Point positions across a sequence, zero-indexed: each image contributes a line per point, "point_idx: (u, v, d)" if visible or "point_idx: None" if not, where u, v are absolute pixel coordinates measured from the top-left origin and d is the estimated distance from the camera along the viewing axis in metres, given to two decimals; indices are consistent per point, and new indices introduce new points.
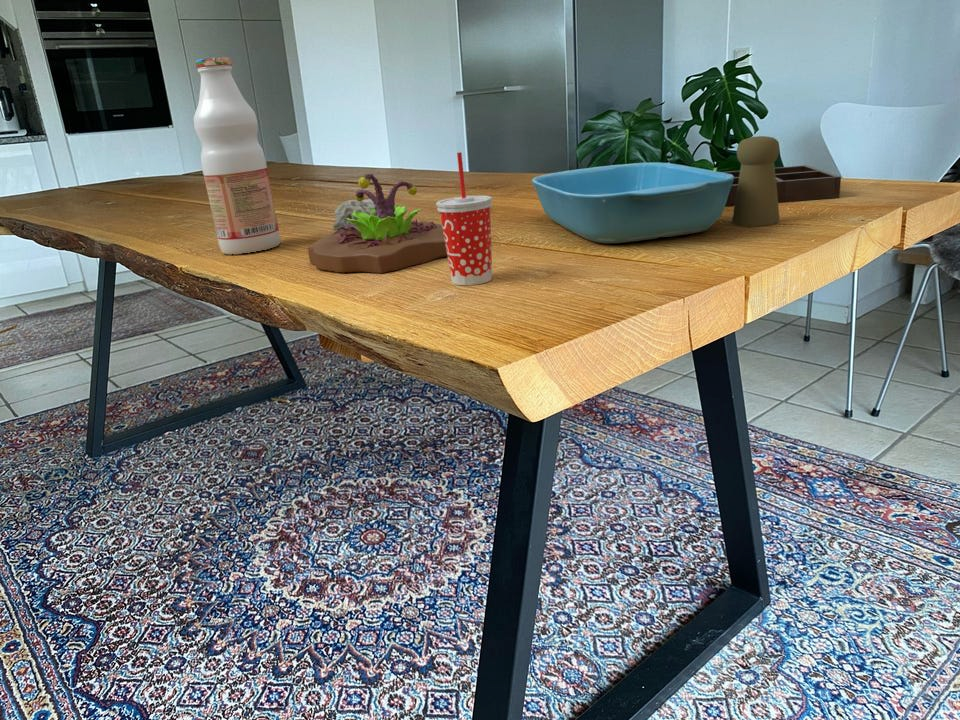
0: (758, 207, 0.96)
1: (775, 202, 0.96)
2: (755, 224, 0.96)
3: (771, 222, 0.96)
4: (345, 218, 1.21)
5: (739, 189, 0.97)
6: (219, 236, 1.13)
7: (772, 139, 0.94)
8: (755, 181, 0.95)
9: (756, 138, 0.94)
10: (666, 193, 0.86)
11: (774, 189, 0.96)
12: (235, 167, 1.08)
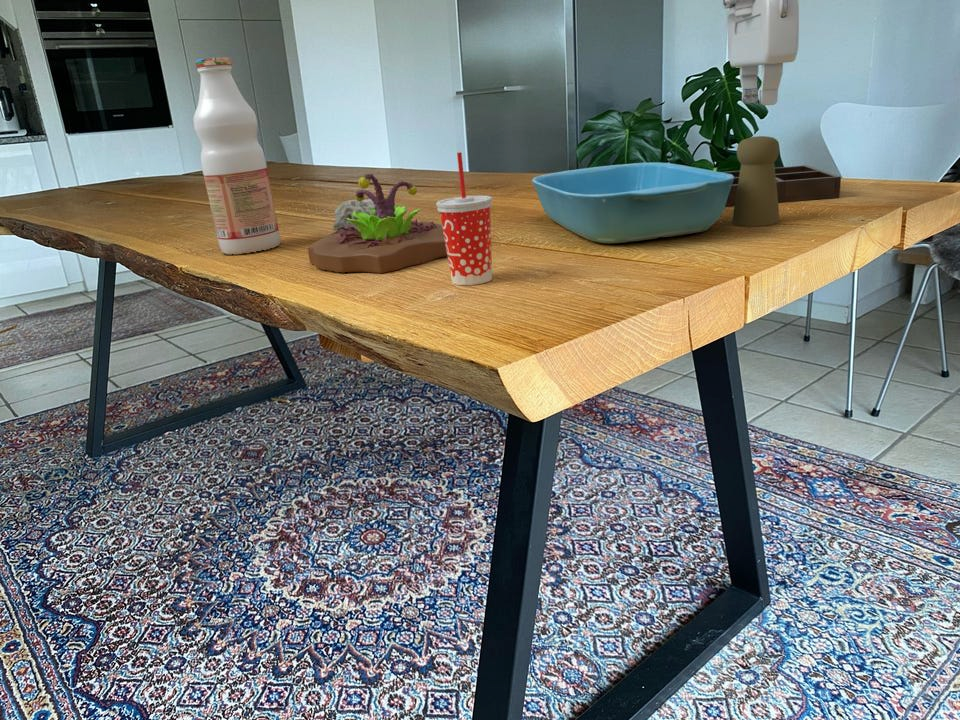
0: (758, 207, 0.96)
1: (775, 202, 0.96)
2: (755, 224, 0.96)
3: (771, 222, 0.96)
4: (345, 218, 1.21)
5: (739, 189, 0.97)
6: (219, 236, 1.13)
7: (772, 139, 0.94)
8: (755, 181, 0.95)
9: (756, 138, 0.94)
10: (666, 193, 0.86)
11: (774, 189, 0.96)
12: (235, 167, 1.08)
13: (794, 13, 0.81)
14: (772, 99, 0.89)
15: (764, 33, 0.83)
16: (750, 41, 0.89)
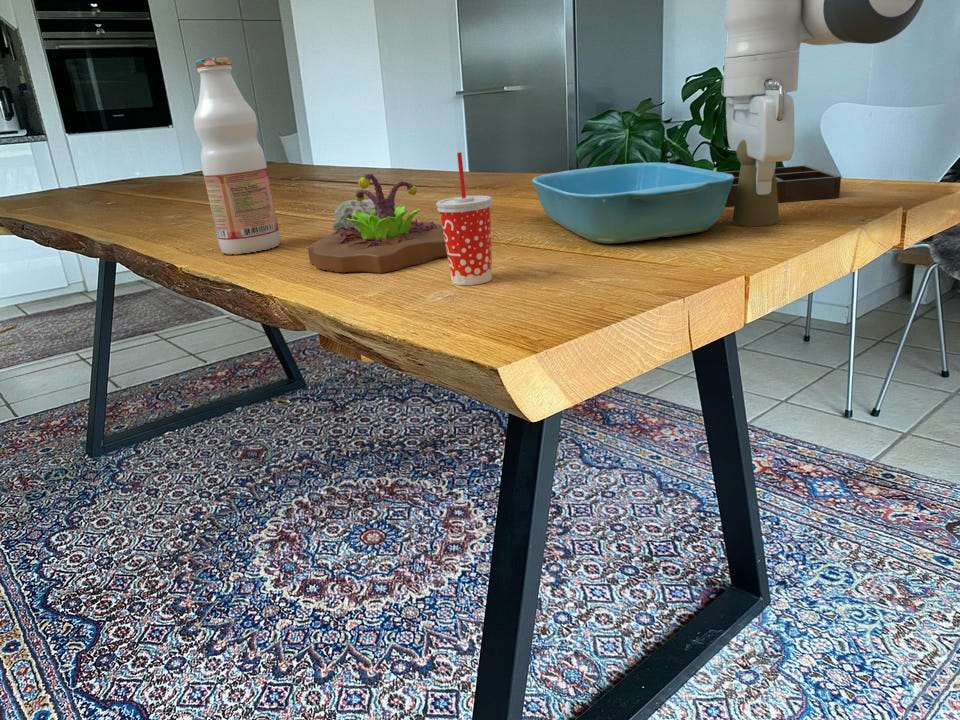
0: (758, 207, 0.96)
1: (775, 202, 0.96)
2: (755, 224, 0.96)
3: (771, 222, 0.96)
4: (345, 218, 1.21)
5: (739, 189, 0.97)
6: (219, 236, 1.13)
7: None
8: None
9: None
10: (666, 193, 0.86)
11: (774, 189, 0.96)
12: (235, 167, 1.08)
13: (790, 116, 0.85)
14: (766, 189, 0.94)
15: (761, 134, 0.87)
16: (748, 134, 0.93)
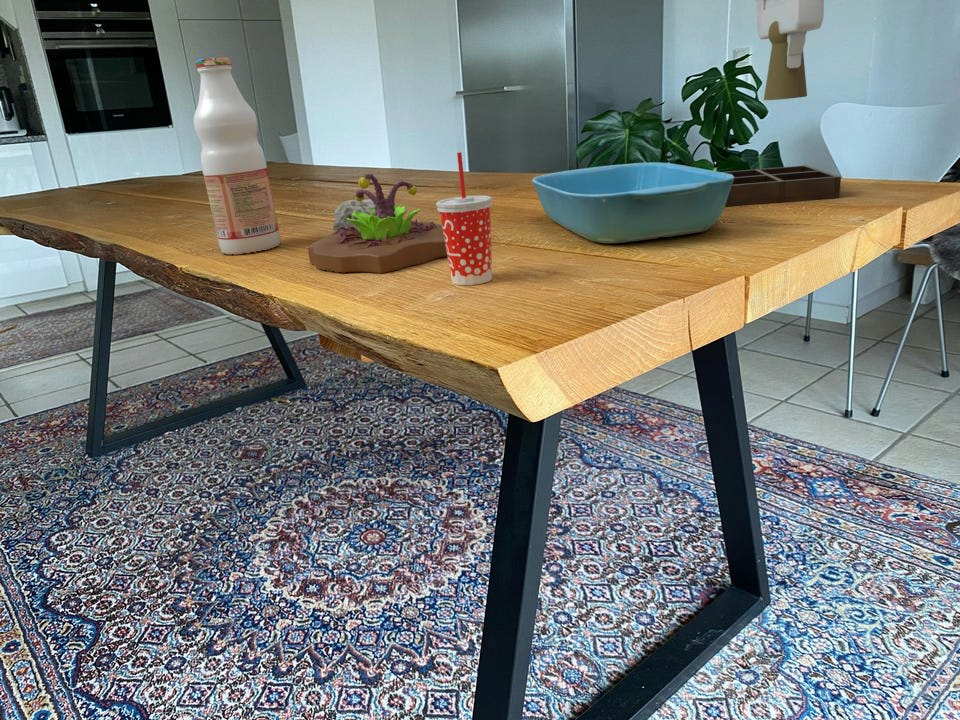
0: (789, 81, 1.07)
1: (803, 77, 1.08)
2: (786, 97, 1.08)
3: (800, 95, 1.08)
4: (345, 218, 1.21)
5: (771, 67, 1.08)
6: (219, 236, 1.13)
7: None
8: None
9: None
10: (666, 193, 0.86)
11: (802, 65, 1.07)
12: (235, 167, 1.08)
13: None
14: (796, 63, 1.05)
15: (794, 5, 0.98)
16: (780, 13, 1.05)
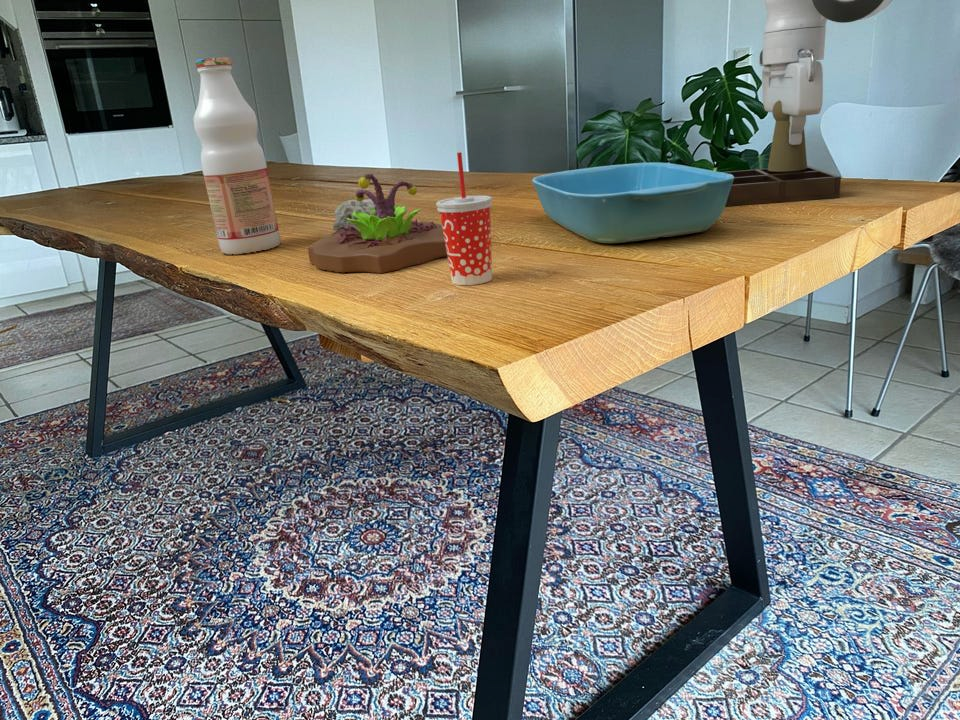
0: (790, 156, 1.17)
1: (804, 152, 1.18)
2: (787, 170, 1.18)
3: (800, 168, 1.18)
4: (345, 218, 1.21)
5: (774, 141, 1.19)
6: (219, 236, 1.13)
7: None
8: (787, 134, 1.17)
9: None
10: (666, 193, 0.86)
11: (803, 141, 1.17)
12: (235, 167, 1.08)
13: (819, 78, 1.07)
14: (798, 140, 1.15)
15: (796, 92, 1.08)
16: (783, 95, 1.15)
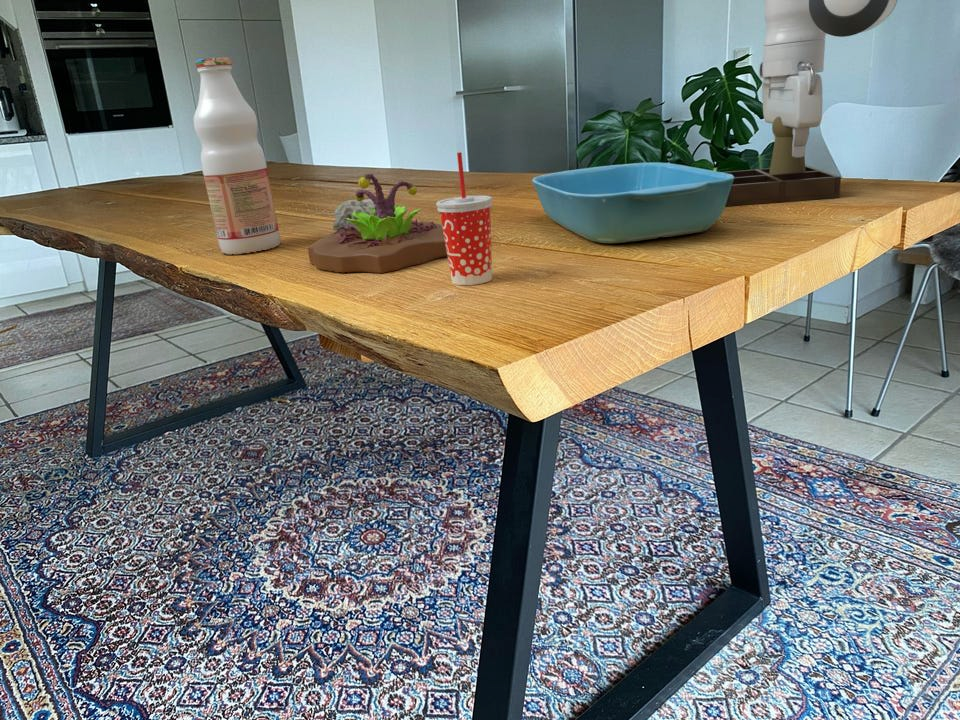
0: (790, 172, 1.18)
1: (803, 167, 1.19)
2: None
3: None
4: (345, 218, 1.21)
5: (774, 157, 1.19)
6: (219, 236, 1.13)
7: None
8: (787, 150, 1.17)
9: None
10: (666, 193, 0.86)
11: (802, 157, 1.18)
12: (235, 167, 1.08)
13: (819, 91, 1.07)
14: (801, 153, 1.14)
15: (796, 105, 1.09)
16: (783, 107, 1.15)
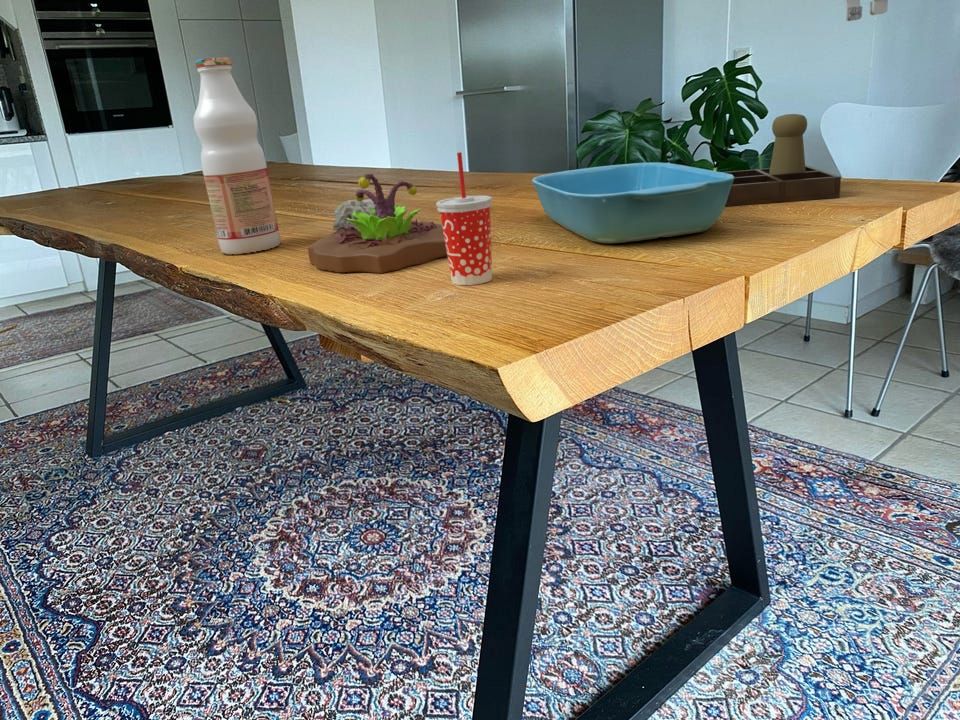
0: (790, 172, 1.18)
1: (803, 167, 1.19)
2: None
3: None
4: (345, 218, 1.21)
5: (774, 157, 1.19)
6: (219, 236, 1.13)
7: (801, 116, 1.16)
8: (787, 150, 1.17)
9: (788, 115, 1.17)
10: (666, 193, 0.86)
11: (802, 157, 1.18)
12: (235, 167, 1.08)
13: None
14: (883, 8, 1.01)
15: None
16: None
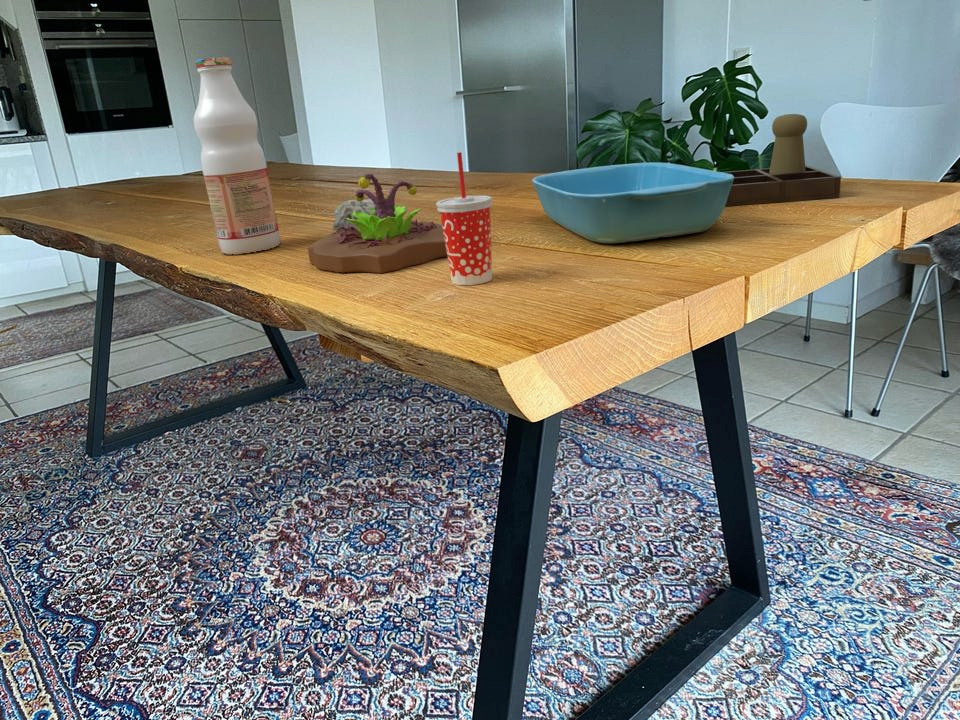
0: (790, 172, 1.18)
1: (803, 167, 1.19)
2: None
3: None
4: (345, 218, 1.21)
5: (774, 157, 1.19)
6: (219, 236, 1.13)
7: (801, 116, 1.16)
8: (787, 150, 1.17)
9: (788, 115, 1.17)
10: (666, 193, 0.86)
11: (802, 157, 1.18)
12: (235, 167, 1.08)
13: None
14: None
15: None
16: None
